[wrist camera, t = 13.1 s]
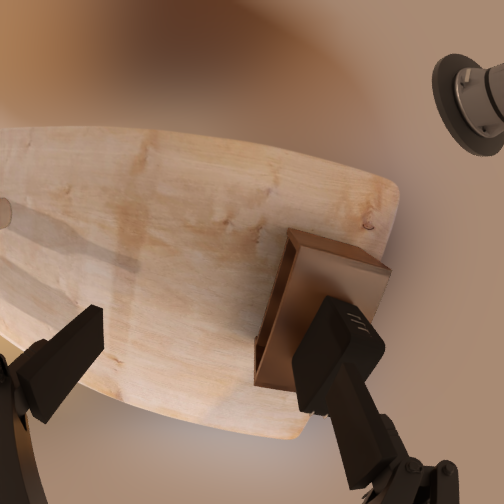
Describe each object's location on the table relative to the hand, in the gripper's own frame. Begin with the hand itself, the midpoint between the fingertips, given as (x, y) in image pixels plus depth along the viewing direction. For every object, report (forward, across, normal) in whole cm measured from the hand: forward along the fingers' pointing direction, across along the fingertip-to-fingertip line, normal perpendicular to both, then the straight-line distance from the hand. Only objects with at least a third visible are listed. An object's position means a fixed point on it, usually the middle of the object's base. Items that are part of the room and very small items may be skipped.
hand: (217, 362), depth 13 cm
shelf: (+29, +12, -6) cm, 32 cm away
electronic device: (+18, +12, -6) cm, 22 cm away
